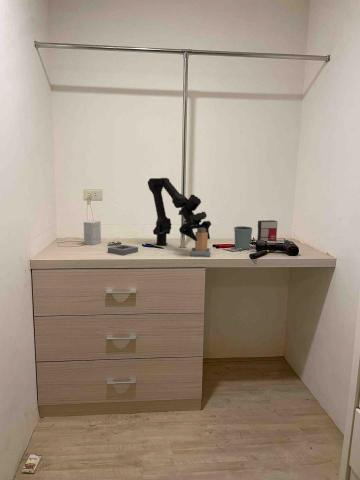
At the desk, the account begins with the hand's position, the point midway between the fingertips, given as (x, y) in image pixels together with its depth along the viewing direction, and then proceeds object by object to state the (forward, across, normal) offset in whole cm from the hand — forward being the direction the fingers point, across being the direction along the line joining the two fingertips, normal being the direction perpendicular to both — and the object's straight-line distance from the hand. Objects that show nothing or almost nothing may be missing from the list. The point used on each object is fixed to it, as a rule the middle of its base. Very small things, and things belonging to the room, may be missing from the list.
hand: (203, 239), depth 196 cm
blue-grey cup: (+6, +31, +5) cm, 32 cm away
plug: (+4, 0, +6) cm, 7 cm away
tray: (+5, 0, +7) cm, 8 cm away
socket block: (-13, -32, +24) cm, 42 cm away
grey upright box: (+9, +49, +3) cm, 50 cm away
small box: (-36, -31, +48) cm, 68 cm away
